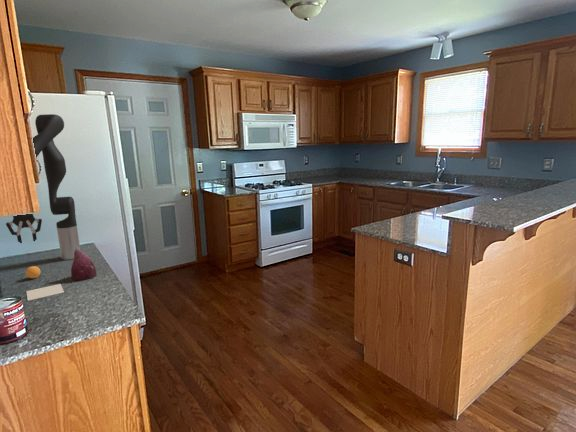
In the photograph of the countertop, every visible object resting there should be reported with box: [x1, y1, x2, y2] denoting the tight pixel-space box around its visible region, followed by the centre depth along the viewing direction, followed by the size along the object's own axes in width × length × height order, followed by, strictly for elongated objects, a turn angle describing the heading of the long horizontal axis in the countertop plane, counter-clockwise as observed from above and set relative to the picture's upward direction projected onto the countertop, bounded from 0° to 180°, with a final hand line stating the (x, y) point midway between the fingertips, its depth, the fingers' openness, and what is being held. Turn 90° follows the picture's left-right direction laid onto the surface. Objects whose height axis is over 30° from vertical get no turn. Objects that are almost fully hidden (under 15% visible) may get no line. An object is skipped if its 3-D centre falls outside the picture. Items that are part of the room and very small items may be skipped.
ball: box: [25, 265, 41, 279], centre depth 159 cm, size 6×6×6 cm
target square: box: [26, 283, 65, 302], centre depth 142 cm, size 12×12×1 cm
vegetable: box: [70, 248, 97, 282], centre depth 158 cm, size 10×10×15 cm
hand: (27, 241), depth 164 cm, fingers open, 4 cm apart
